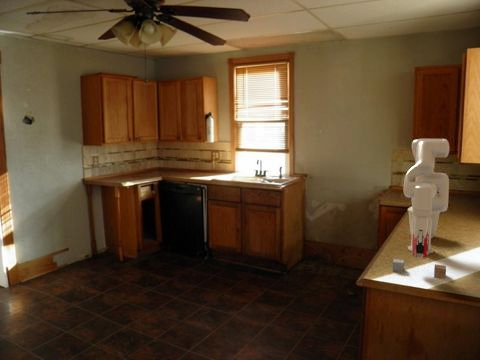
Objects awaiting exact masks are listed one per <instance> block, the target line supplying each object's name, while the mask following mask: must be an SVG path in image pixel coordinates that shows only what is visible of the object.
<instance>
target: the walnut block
mask: <svg viewBox="0 0 480 360" xmlns="http://www.w3.org/2000/svg"><path fill="white" fill-rule="evenodd" d="M446 272H447V265H445V264H436V263H435V264H434V270H433V278H437V279H444V280H445V279H446V276H447V275H446V274H447V273H446Z"/></svg>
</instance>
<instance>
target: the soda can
mask: <svg viewBox="0 0 480 360" xmlns="http://www.w3.org/2000/svg"><path fill="white" fill-rule="evenodd" d="M422 233H423V231H422ZM418 235H419V234H418ZM411 238H412V237H411ZM418 238H419V236H418ZM422 238H423V237H422ZM422 241H423V240H422ZM416 244H417V238H414V234H413V238H412V251H411V256H413V257H414V258H415V259H420V260H425V259H427V258H428V257H429V255H430V253H429V234H428V232H427V234H426V239H424V254H421V253H416Z"/></svg>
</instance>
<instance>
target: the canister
mask: <svg viewBox="0 0 480 360" xmlns="http://www.w3.org/2000/svg"><path fill="white" fill-rule="evenodd" d="M407 211H408V220H409V221H408V222H409V232H410V235H411V236H412V216H413V212H412V206H409V207H408V208H407ZM440 213H441V212H437V211H432V212H431V219H432V228H431V239H433V238H434V237H435V236H436V232H437V228H438V223H439V218H440V217H439V216H440Z"/></svg>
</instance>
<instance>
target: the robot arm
mask: <svg viewBox="0 0 480 360" xmlns="http://www.w3.org/2000/svg"><path fill="white" fill-rule="evenodd" d="M411 150H412V151H411V152H412V156H413V158H414V159H415V162H414V163H415V164H414V165H413V166H412V167H411V168H410V169H408V171H407V172H406V174H405V175H404V181H403V189H402V190H403V196H405V198H409V199H411V207H412V212H413V216H412V235H411V239H410V240H411V241H410V245H408V246H407V250H409V252H412V238H413V234H414V238H417V244H416V253H421V254H424V239H426V234H427V232H428V234H429V254H433V253H434V248H433V247H431V244H432V238H431V228H432V219H431V212H432V211H437V212H440V213H441V212H442V213H443V212H446V211H447V210H448V206H449V195H450V194H449V193H450V191H449V190H450V189H449V188H450V179H449V176H448V175H447V173H444V172H435V171H434V169H435V165H436V164H435V163H436V158H447V157H448V155H449V153H450V143H449V140H448V139H446V138H418V139H414V140H412V142H411ZM414 179H415V181H412V180H414ZM422 231H423V233H422ZM418 234H419V235H418ZM418 236H419V238H418ZM422 237H423V238H422ZM422 240H423V241H422Z"/></svg>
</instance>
